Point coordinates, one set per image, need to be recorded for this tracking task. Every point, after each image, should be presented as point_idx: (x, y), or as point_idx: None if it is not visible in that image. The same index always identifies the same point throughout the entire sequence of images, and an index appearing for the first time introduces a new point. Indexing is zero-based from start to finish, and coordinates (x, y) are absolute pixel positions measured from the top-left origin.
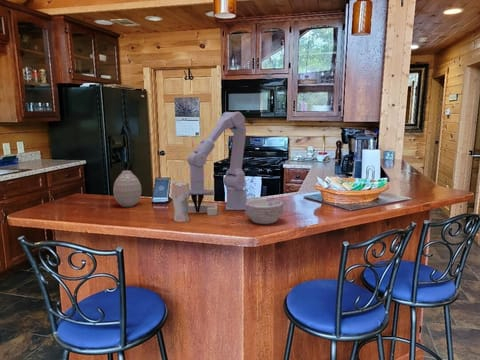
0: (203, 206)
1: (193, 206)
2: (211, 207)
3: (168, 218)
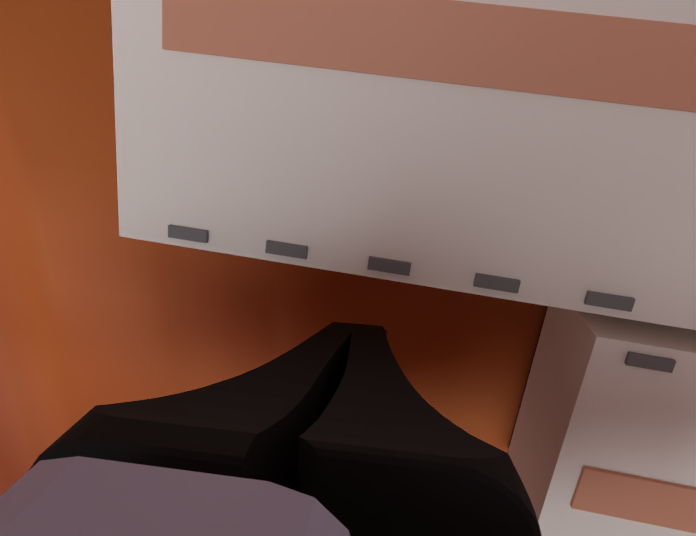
0: (482, 292)
1: (260, 253)
2: (636, 498)
3: (6, 459)
